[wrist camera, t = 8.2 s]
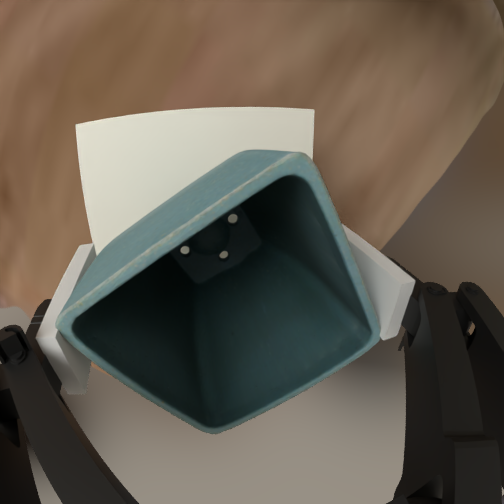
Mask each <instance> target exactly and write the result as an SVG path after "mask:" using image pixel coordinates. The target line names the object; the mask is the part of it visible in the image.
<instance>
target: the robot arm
mask: <svg viewBox="0 0 504 504" xmlns="http://www.w3.org/2000/svg"><path fill="white" fill-rule="evenodd" d="M342 226H343V228H344V230H345V233H346V235H347V238H348V241H349V244H350V246H351V248H352V251H353V255H354V257H355V259H356V262H357V265H358V268H359V270H360V272H361V276H362V278H363V280H364V283H365V287H366V289H367V292H368V294H369V296H370V299H371V302H372V305H373V307H374V310H375V313H376V316H377V318H378V321H379V324H380V327H381V332H380V337H381V338H382V340H386V339H389V338H392V337H395V336H397V334H398V332H399V329H400V326H401V325H402V326H403V327H405V329H406V331H405V333H404V336H403V338H402V341H401V343H400V346H399V349H398V350H399V351H400V350H401V348H402V346H404V352H405V370H406V371H405V372H406V430H405V450H404V463H403V474H402V477H401V480H400V482H399V484H398V486H397V488H396V491H395V493H394V498H393V500H392V501H390V502H388V503H387V504H504V495H503V496H502V487H503V489H504V317H503V316H502V314H501V313H500V312H499V310H498V309H497V308H496V306H495V305H494V304H493V302H492V301H491V300H490V299H489V297H488V296H487V295H486V294H485V292H484V291H483V290H482V289H481V288H480V287H479V286H477V285H476V284H475V283H472V282H462V283H461V284H460V286H459V289H458V291H457V292H448V291H447V289H446V288H445V287H443V286H442V285H440V284H437V283H433V282H426V283H423V282H421V281H420V280H419V279H417V278H416V277H415V276H414V275H412V274H411V273H410V272H409V271H408V270H406V269H405V268H404V267H402V266H400V264H399V263H398V262H396V261H395V260H394V259H392V258H390V257H388V256H385V255H383V254H382V253H380V252H379V251H378V250H377V249H375V248H374V247H373V246H371V245H370V244H369V243H367V242H366V241H365V240H364V239H362V238H361V237H360V236H358V235H357V234H356V233H354V232H353V231H352V230H350V229H349V228H347V227H346V226H345V225H343V224H342ZM96 257H97V255H96V251H95V246H94V243H92V244H85V245H80V246H79V248H78V249H77V251H76V253H75V255H74V257H73V258H72V260H71V262H70V264H69V266H68V268H67V270H66V272H65V274H64V276H63V278H62V280H61V282H60V284H59V286H58V288H57V290H56V292H55V294H54V296H53V298H52V299H47V300H44V301H43V302H42V303H41V304H40V306H39V307H38V308H37V310H36V312H35V314H34V317H33V318H32V320H31V324H30V325H29V327H28V329H27V332H26V334H25V333H24V332H23V330H22V328H21V327H20V326H17V325H9V326H7V327H4V328H3V329H1V330H0V361H1V363H2V364H0V504H41V502H40V498H39V495H38V492H37V488H36V485H35V481H34V477H33V473H32V469H31V464H30V460H29V455H28V450H27V444H26V439H25V432H26V434H27V436H28V439H29V441H30V443H31V445H32V448H33V450H34V452H35V454H36V456H37V458H38V460H39V462H40V464H41V466H42V468H43V470H44V472H45V474H46V476H47V478H48V479H49V481H50V483H51V485H52V487H53V488H54V490H55V492H56V493H57V495H58V497H59V498H60V500H61V502H62V503H63V504H139V503H138V502H137V501H136V500H135V499H134V497H132V495H131V494H130V493H129V492H128V491H127V489H126V488H125V487H124V486H123V485H122V484H121V482H120V481H119V480H118V479H117V478H116V476H115V475H114V474H113V472H112V471H111V470H110V469H109V467H108V466H107V465H106V463H105V462H104V461H103V459H102V458H101V457H100V455H99V454H98V452H97V451H96V450H95V448H94V447H93V445H92V444H91V443H90V441H89V439H88V438H87V436H86V435H85V433H84V432H83V431H82V429H81V427H80V426H79V424H78V422H77V421H76V419H75V418H74V416H73V414H72V413H71V411H70V409H69V407H68V406H67V404H66V402H65V401H64V399H63V397H62V396H61V394H60V390H61V385H63V387H64V389H65V390H66V392H67V393H68V394H86V392H87V385H88V378H89V372H90V366H91V360H90V359H88V358H87V357H86V356H85V355H83V354H82V353H80V352H79V351H78V350H77V349H75V348H74V347H73V346H72V345H71V344H70V343H69V342H68V341H67V340H65V339H64V338H63V337H62V336H61V334H60V332H59V330H58V329H56V328H55V323H56V319H57V317H58V315H59V314H60V312H61V310H62V309H63V307H64V305H65V304H66V302H67V300H68V299H69V297H70V295H71V294H72V292H73V291H74V289H75V288H76V286H77V285H78V283H79V281H80V280H81V278H82V277H83V275H84V274H85V272H86V271H87V269H88V268H89V267H90V265H91V264H92V262H93V261H94V260H95V258H96ZM472 322H473V323H474V325H475V329H474V331H473V333H472V334H471V335H470V333H469V332H468V331H469V329H470V326H471V324H472ZM24 429H25V432H24Z"/></svg>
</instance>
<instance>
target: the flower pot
mask: <svg viewBox="0 0 504 504" xmlns="http://www.w3.org/2000/svg"><path fill="white" fill-rule="evenodd" d="M232 214H235V215H237V221H236V222H234V223H231V222H229V221H228V217H229V216H230V215H232ZM183 246H187V247H189V252H188V253H187V254H183V253H181V248H182V247H183ZM223 251H227V252H228V255H227V257H225V258H221V257H220V256H219V255H220V254H221V252H223ZM55 328H56V329H58V330H59V332H60V334H61V336H62V337H63V338H64V339H65V340H67V341H68V342H69V343H70V344H71V345H72V346H73V347H74V348H75V349H77V350H78V351H79V352H80V353H82V354H83V355H85V356H86V357H87V358H88V359H90V360H91V361H92V362H93V363H95V364H96V365H98V366H99V367H100V368H102V369H103V370H105V371H106V372H107V373H109V374H110V375H112V376H113V377H114V378H115V379H118V380H119V381H120V382H122V383H123V384H125V385H126V386H128V387H129V388H131V389H132V390H134V391H135V392H137V393H138V394H140V395H141V396H142V397H144V398H146V399H148V400H150V401H151V402H153V403H155V404H156V405H158V406H159V407H161V408H163V409H164V410H166V411H168V412H170V413H171V414H173V415H174V416H176V417H178V418H179V419H181V420H183V421H185V422H186V423H188V424H190V425H192V426H193V427H195V428H197V429H199V430H201V431H203V432H206V433H210V434H218V433H221V432H223V431H226V430H228V429H232V428H233V427H236V426H238V425H240V424H242V423H244V422H246V421H248V420H250V419H252V418H255V417H256V416H258V415H260V414H262V413H264V412H266V411H268V410H270V409H272V408H275V407H276V406H278V405H280V404H282V403H283V402H285V401H287V400H289V399H291V398H293V397H295V396H297V395H298V394H300V393H302V392H304V391H306V390H307V389H309V388H310V387H312V386H314V385H316V384H317V383H319V382H321V381H323V380H324V379H326V378H328V377H329V376H331V375H332V374H334V373H335V372H337V371H338V370H340V369H341V368H343V367H345V366H346V365H348V364H349V363H351V362H353V361H354V360H355V359H357V358H359V357H360V356H361V355H363V354H364V353H366V352H367V351H368V350H369V349H371V348H372V347H373V346H374V345H375V344H377V343H378V341H379V340H380V339H381V337H380V332H381V327H380V324H379V321H378V318H377V316H376V313H375V310H374V307H373V305H372V302H371V299H370V296H369V294H368V292H367V289H366V287H365V283H364V280H363V278H362V276H361V272H360V270H359V268H358V265H357V262H356V259H355V257H354V255H353V251H352V248H351V246H350V244H349V241H348V238H347V235H346V233H345V230H344V228H343V226H342V223H341V222H340V219H339V216H338V213H337V211H336V209H335V207H334V204H333V202H332V200H331V197H330V195H329V192H328V190H327V188H326V186H325V184H324V181H323V179H322V176H321V174H320V172H319V170H318V168H317V167H316V165H315V164H314V162H313V161H312V159H311V158H310V157H309V156H308V155H307V154H305V153H303V152H292V151H278V150H245V151H242V152H239V153H237V154H235V155H233V156H232V157H230V158H228V159H227V160H225V161H224V162H222V163H221V164H219V165H218V166H216V167H215V168H213V169H212V170H210V171H209V172H207V173H206V174H204V175H203V176H201V177H200V178H198V179H197V180H195V181H194V182H192V183H191V184H189V185H188V186H186V187H185V188H184V189H182V190H181V191H179V192H178V193H176V194H175V195H174V196H172V197H171V198H169V199H168V200H166V201H165V202H164V203H162V204H161V205H159V206H158V207H157V208H155V209H154V210H152V211H151V212H150V213H148V214H147V215H146V216H144V217H143V218H141V219H140V220H139V221H137V222H136V223H135V224H133V225H132V226H131V227H129V228H128V229H126V230H125V231H124V232H122V233H121V234H120V235H118V236H117V237H116V238H114V239H113V240H112V241H111V242H110V243H109V244H108V245H106V246H105V247H104V248H103V249H102V251H101V252H100V253H99V254H98V255H97V257H96V258H95V260H94V261H93V262H92V264H91V265H90V267H89V268H88V269H87V271H86V272H85V274H84V275H83V277H82V278H81V280H80V281H79V283H78V285H77V286H76V288H75V289H74V291H73V292H72V294H71V295H70V297H69V299H68V300H67V302H66V304H65V305H64V307H63V309H62V310H61V312H60V314H59V315H58V317H57V319H56V323H55Z"/></svg>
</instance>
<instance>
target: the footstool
mask: <svg viewBox="0 0 504 504" xmlns="http://www.w3.org/2000/svg"><path fill="white" fill-rule="evenodd" d="M76 136H77V147H78V157H79V166H80V173H81V181H82V187H83V194H84V200H85V206H86V211H87V217H88V222H89V227H90V232H91V236H92V241H93V243H94V246H95V251H96V255H98V254H99V253H100V252H101V251H102V249H103V248H104V247H105V246H106V245H108V244H109V243H110V242H111V241H112V240H113V239H114V238H116V237H117V236H118V235H120V234H121V233H122V232H124V231H125V230H126V229H128V228H129V227H131V226H132V225H133V224H135V223H136V222H137V221H139V220H140V219H141V218H143V217H144V216H146V215H147V214H148V213H150V212H151V211H152V210H154V209H155V208H157V207H158V206H159V205H161V204H162V203H164V202H165V201H166V200H168V199H169V198H171V197H172V196H174V195H175V194H176V193H178V192H179V191H181V190H182V189H184V188H185V187H186V186H188V185H189V184H191V183H192V182H194V181H195V180H197V179H198V178H200V177H201V176H203V175H204V174H206V173H207V172H209V171H210V170H212V169H213V168H215V167H216V166H218V165H219V164H221V163H222V162H224V161H225V160H227V159H228V158H230V157H232V156H233V155H235V154H237V153H239V152H242V151H245V150H278V151H292V152H303V153H305V154H307V155H308V156H309V157H310V158H311V159H312V158H313V136H314V110H313V109H298V108H276V107H218V108H197V109H182V110H170V111H159V112H150V113H142V114H134V115H127V116H120V117H114V118H108V119H102V120H96V121H91V122H86V123H81V124H76ZM228 221H229V222H231V223H234V222H236V221H237V215H235V214H232V215H230V216H229V217H228ZM188 252H189V247H187V246H183V247H182V248H181V253H183V254H187V253H188ZM227 255H228V252H227V251H223V252H221V254H220V255H219V256H220V257H221V258H225V257H227Z"/></svg>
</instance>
